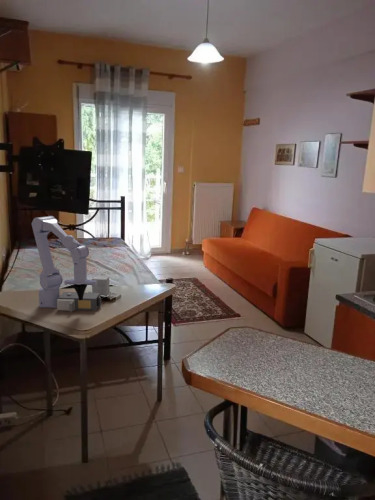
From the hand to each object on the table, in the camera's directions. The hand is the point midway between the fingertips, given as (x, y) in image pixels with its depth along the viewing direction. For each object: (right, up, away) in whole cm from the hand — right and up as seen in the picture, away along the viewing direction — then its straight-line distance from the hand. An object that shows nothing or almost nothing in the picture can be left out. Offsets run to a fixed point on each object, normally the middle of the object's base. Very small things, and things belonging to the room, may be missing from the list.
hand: (81, 299), depth 190 cm
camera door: (-8, -6, +2) cm, 10 cm away
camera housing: (-3, -5, +9) cm, 10 cm away
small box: (+4, -2, +25) cm, 26 cm away
